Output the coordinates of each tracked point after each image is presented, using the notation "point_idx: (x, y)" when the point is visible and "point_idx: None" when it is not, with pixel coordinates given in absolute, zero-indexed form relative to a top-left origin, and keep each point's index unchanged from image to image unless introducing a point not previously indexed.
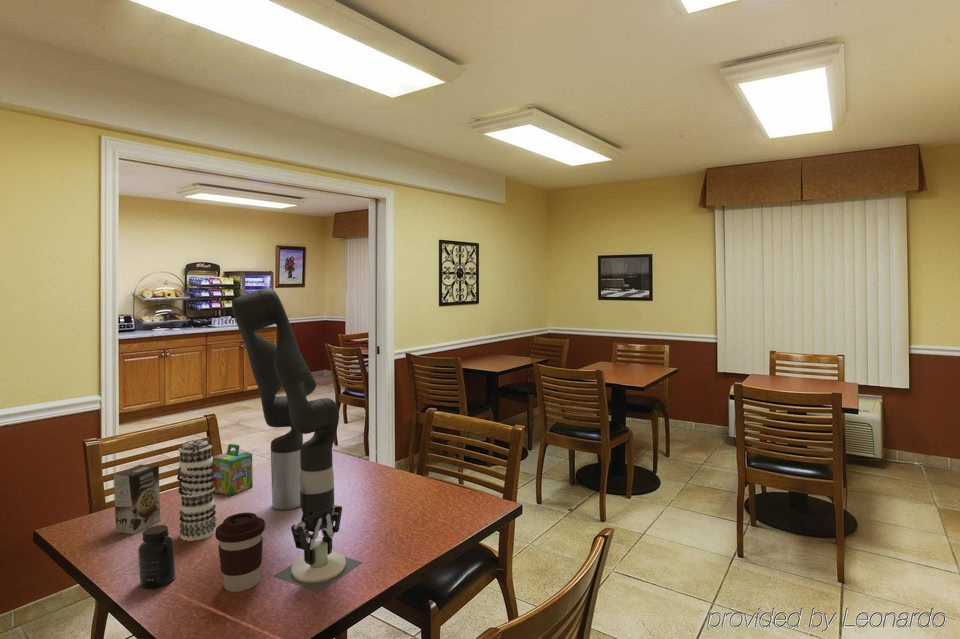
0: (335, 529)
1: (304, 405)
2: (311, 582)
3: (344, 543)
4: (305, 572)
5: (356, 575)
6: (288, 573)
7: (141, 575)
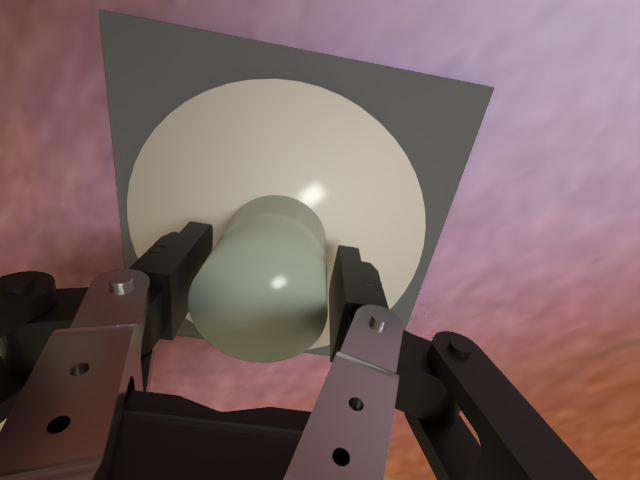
0: (409, 424)
1: None
2: None
3: (596, 181)
4: (174, 227)
5: (311, 369)
6: (168, 96)
7: None
